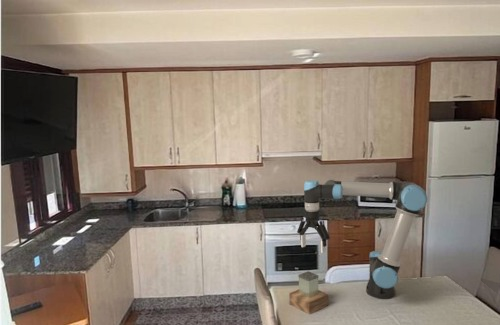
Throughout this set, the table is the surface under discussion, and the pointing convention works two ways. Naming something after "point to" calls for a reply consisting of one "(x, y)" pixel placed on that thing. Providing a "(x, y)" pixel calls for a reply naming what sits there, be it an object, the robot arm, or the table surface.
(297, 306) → the block
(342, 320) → the table surface
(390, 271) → the robot arm
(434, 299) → the table surface
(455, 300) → the table surface
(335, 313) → the table surface
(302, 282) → the tea tin
